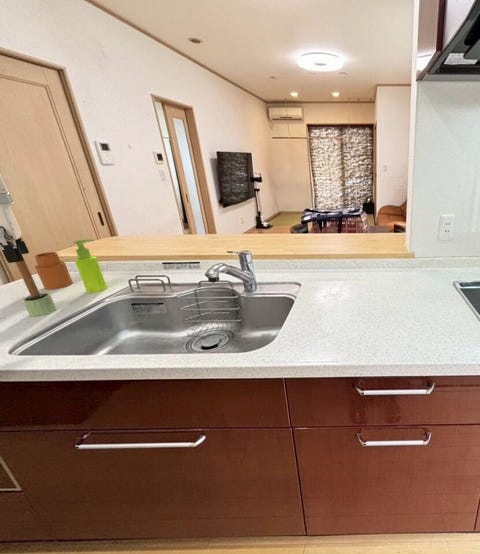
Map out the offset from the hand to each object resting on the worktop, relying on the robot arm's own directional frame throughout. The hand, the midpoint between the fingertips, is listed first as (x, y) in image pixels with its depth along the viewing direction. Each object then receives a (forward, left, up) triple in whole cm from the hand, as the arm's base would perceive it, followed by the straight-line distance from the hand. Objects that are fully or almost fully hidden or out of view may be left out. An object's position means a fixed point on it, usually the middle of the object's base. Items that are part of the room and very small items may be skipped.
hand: (19, 257), depth 90 cm
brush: (0, 0, -19) cm, 19 cm away
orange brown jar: (+2, +28, -19) cm, 34 cm away
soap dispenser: (+14, +12, -20) cm, 27 cm away
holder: (0, 0, -19) cm, 19 cm away
